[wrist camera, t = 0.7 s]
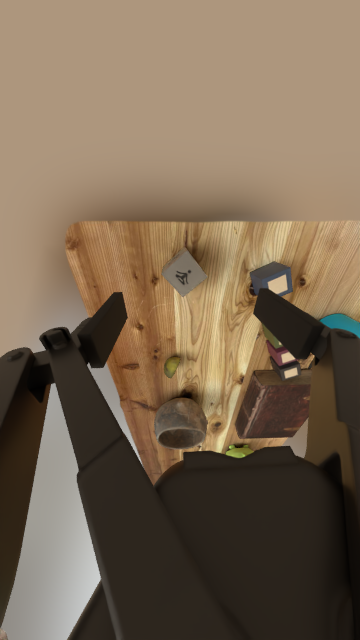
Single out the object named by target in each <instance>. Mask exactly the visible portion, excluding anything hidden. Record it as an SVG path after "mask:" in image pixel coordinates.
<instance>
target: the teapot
mask: <svg viewBox="0 0 360 640" xmlns="http://www.w3.org/2000/svg"><path fill="white" fill-rule="evenodd" d="M229 448H230V449H231V450H229V451H227V452H226V454H225V455H229V456H233V457H236V458H242V457H244V456H246V455H249V454H251V453H253V451H252V450H251V449H249V448H248V445H244V446H243V448H235V445H230V446H229Z"/></svg>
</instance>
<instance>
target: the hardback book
mask: <svg viewBox="0 0 360 640" xmlns="http://www.w3.org/2000/svg"><path fill="white" fill-rule="evenodd" d="M311 374H312V370H301V375H300V376H297V377H294V378H291V379H288V380H284V381H282V380H281V379H280V377H279V376H278V374H277V373H276V372H275V370H267V371H254V372H253V375H252V378H251V381H250V383H249V386H248V389H247V392H246V395H245V398H244V401H243V404H242V406H241V409H240V412H239V415H238V418H237V421H236V424H235V426H236V430H237V434H238V436H239V438H240V439H248V438H282V437H293V436H294V435H295V433H296V432H297V431H298V430H299V428H300V427H301V426H302V425H303V423H304V422H305V421H306V419H307V418H308V417H309V404H310V389H311Z"/></svg>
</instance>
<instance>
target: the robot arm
mask: <svg viewBox="0 0 360 640" xmlns="http://www.w3.org/2000/svg"><path fill="white" fill-rule="evenodd" d="M253 314H254V315H255V316H256V317H257V318H258V319H259V320H260V321H261V322H262V323H263V325H264V326H265V327H266V328H267V329H268V330H269V331H270V332H271V333H272V334H273V335H274V336H275V337H276V339H277V340H278V341H279V342H280V343H281V344H282V345H283V346H284V347H285V348H286V349H287V350H288V351H289V353H290V354H291V355H292V356H293V357H294V358H295V359H307V358H308V356H309V354H310V352H311V353H312V354H313V355H315V357H314V359H313V360H312V362H311V364H310V365H309V367H308V369H310V368H311V367H312V374H311V389H310V404H309V419H308V434H307V449H306V454H305V457H304V458H301V457H298V456H296V455H295V454H294V453H293V451H292V449H291V447H290V446H278V447H264V448H262V449H260V450H257V451H255V452H253V453H251V454H249V455H246V456H244V457H242V458H236V457H233V456H229V455H225V454H221V453H217V452H213V451H196V452H183V460H182V461H180V462H177V463H176V464H174V465H173V466H171V467H170V468H169V469H167V470H166V471H165V472H164V473H163V474H162V475H161V477H160V478H159V479H158V480H157V482H156V483H155V485H154V486H153V484H152V482H151V481H150V479H149V477H148V475H147V473H146V472H145V470H144V468H143V466H142V464H141V463H140V461H139V459H138V457H137V455H136V453H135V451H134V450H133V448H132V446H131V444H130V442H129V440H128V439H127V437H126V436H125V434H124V433H123V431H122V429H121V428H120V426H119V424H118V422H117V420H116V418H115V417H114V415H113V413H112V411H111V409H110V407H109V406H108V404H107V402H106V400H105V398H104V396H103V394H102V393H101V391H100V389H99V387H98V385H97V384H96V381H95V380H94V378H93V376H92V374H91V372H90V370H89V369H88V367H87V364H88V362H89V363H90V366H91V368H103V367H104V365H105V363H106V361H107V359H108V357H109V355H110V353H111V351H112V349H113V347H114V345H115V343H116V341H117V338H118V336H119V334H120V332H121V330H122V328H123V326H124V324H125V322H126V320H127V318H128V317H127V312H126V308H125V303H124V298H123V294H122V292H114V293H113V294H112V295H111V296H110V297H109V299H108V300H107V301H106V302H105V303H104V304H103V305H102V307H101V308H100V309H99V310H98V311H97V312H96V313H95V315H94V316H93V317H90V318H87V319H85V320H84V321H82V322H81V324H80V325H79V326H78V327H77V328H76V329H75V330H74V331H73V332H72V333H71V334H70V332H69V330H68V329H67V328H65V327H58V328H53V329H50V330H48V331H46V332H44V333H43V334H42V335H41V336H40V338H39V339H40V341H41V342H42V344H43V346H44V347H45V349H46V351H42V352H37V353H33V352H32V351H31V349H29V348H25V347H23V348H19V349H15V350H12V351H10V352H8V353H6V354H5V355H3V356H2V357H1V358H0V640H8V638H7V635H6V632H5V631H3V630H2V629H1V625H2V622H3V619H4V616H5V612H6V609H7V605H8V602H9V599H10V595H11V592H12V588H13V585H14V580H15V576H16V571H17V567H18V562H19V558H20V553H21V548H22V542H23V536H24V531H25V525H26V520H27V514H28V509H29V503H30V497H31V492H32V487H33V481H34V476H35V470H36V465H37V459H38V454H39V448H40V442H41V437H42V431H43V426H44V420H45V414H46V409H47V404H48V398H49V393H50V387H51V384H53V383H55V384H56V387H57V391H58V395H59V398H60V401H61V405H62V409H63V412H64V416H65V419H66V424H67V427H68V431H69V434H70V438H71V442H72V445H73V449H74V453H75V456H76V460H77V464H78V468H79V472H78V474H77V483H78V488H79V492H80V496H81V500H82V504H83V508H84V512H85V516H86V520H87V524H88V528H89V532H90V536H91V539H92V544H93V548H94V552H95V556H96V560H97V564H98V567H99V571H100V576H101V580H100V582H99V584H98V586H97V587H96V589H95V591H94V593H93V595H92V596H91V598H90V600H89V602H88V603H87V605H86V607H85V609H84V611H83V612H82V614H81V616H80V618H79V619H78V621H77V623H76V625H75V627H74V628H73V630H72V632H71V634H70V635H69V637H68V639H67V640H360V339H359V337H358V336H357V335H356V334H354V333H352V332H350V331H347V330H344V329H339V328H333V329H331V328H329V327H328V326H326V325H325V324H323V323H322V322H320V321H319V320H317V319H315V318H314V317H312V316H311V315H309V314H308V313H306V312H304V311H302V310H301V309H299V308H297V307H296V306H294V305H293V304H291V303H290V302H288V301H287V300H285V299H284V298H282V297H281V296H279V295H277V294H276V293H274V292H273V291H271V290H270V289H268V288H260V289H259V293H258V297H257V301H256V304H255V308H254V312H253Z"/></svg>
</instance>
